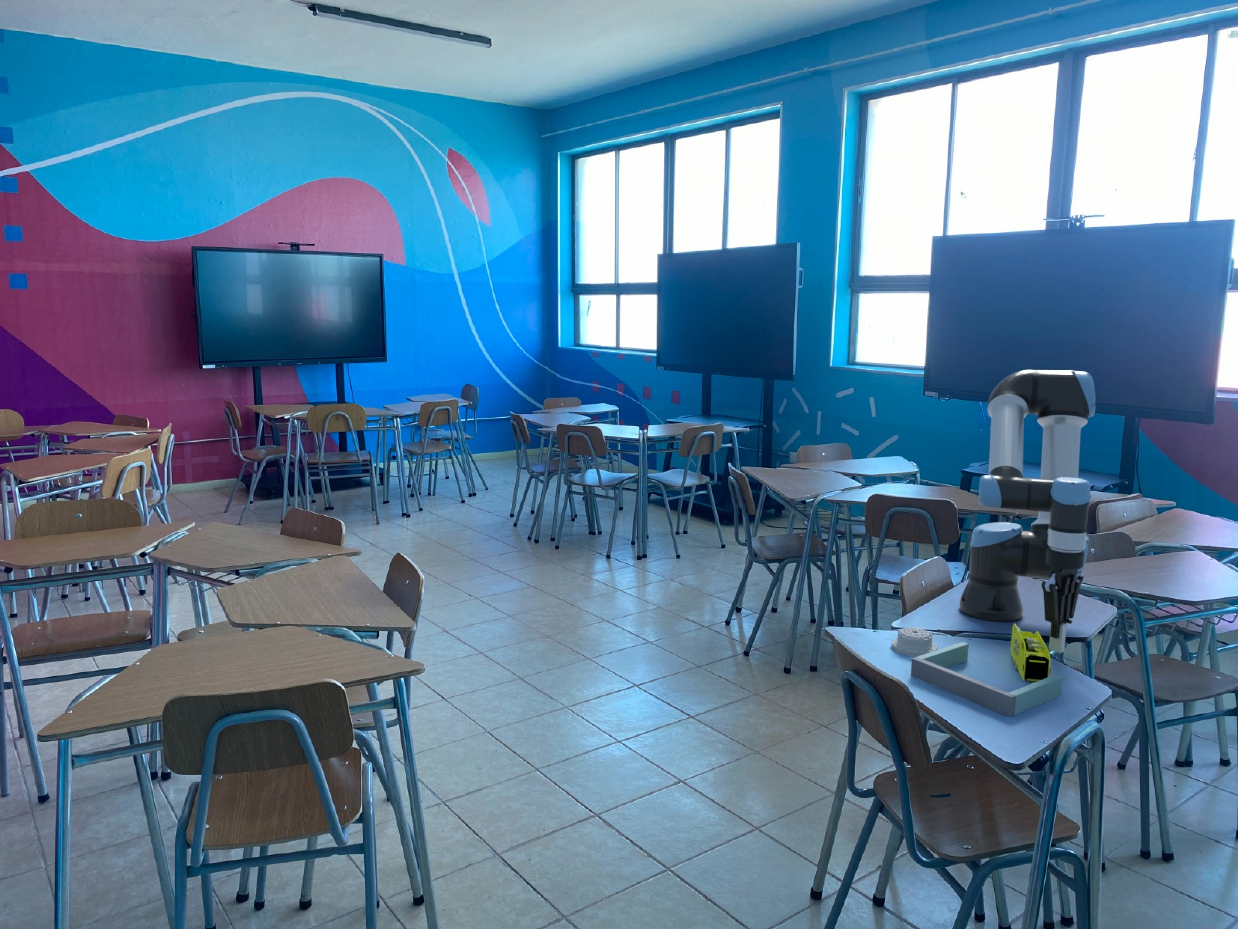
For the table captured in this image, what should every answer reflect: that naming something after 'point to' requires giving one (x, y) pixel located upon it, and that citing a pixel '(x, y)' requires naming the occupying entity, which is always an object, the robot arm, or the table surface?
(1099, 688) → the table surface
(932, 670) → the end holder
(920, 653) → the white cake
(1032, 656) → the yellow toy chassis
